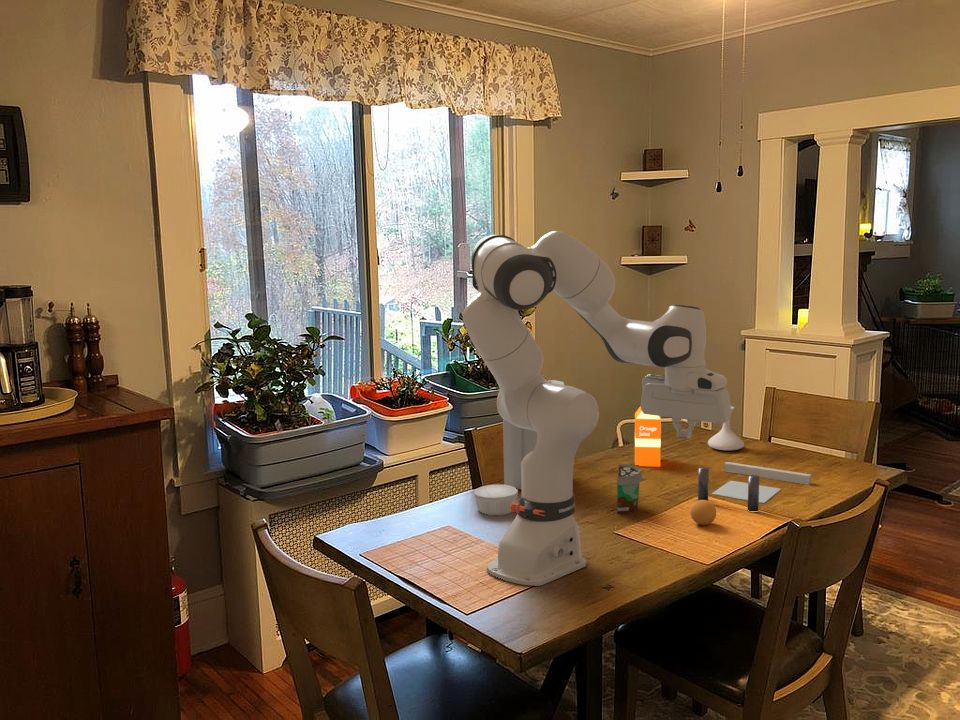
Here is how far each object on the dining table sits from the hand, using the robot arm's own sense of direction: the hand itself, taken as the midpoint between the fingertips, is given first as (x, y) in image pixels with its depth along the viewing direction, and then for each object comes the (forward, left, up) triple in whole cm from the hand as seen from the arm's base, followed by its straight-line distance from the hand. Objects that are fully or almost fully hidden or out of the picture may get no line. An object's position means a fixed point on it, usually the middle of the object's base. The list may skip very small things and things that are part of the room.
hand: (684, 437), depth 182 cm
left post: (+28, +6, -24) cm, 38 cm away
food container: (+13, +20, -24) cm, 34 cm away
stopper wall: (+58, 0, -24) cm, 63 cm away
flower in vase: (+81, +21, -24) cm, 87 cm away
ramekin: (-7, +48, -24) cm, 54 cm away
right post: (+28, -7, -24) cm, 38 cm away
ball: (+12, 0, -21) cm, 24 cm away
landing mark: (+42, 0, -24) cm, 48 cm away
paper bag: (+18, +49, -24) cm, 58 cm away
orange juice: (+54, +35, -24) cm, 69 cm away
